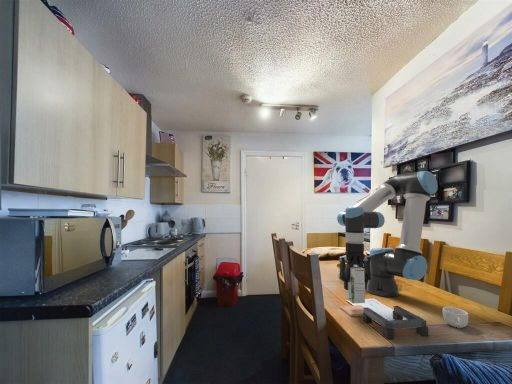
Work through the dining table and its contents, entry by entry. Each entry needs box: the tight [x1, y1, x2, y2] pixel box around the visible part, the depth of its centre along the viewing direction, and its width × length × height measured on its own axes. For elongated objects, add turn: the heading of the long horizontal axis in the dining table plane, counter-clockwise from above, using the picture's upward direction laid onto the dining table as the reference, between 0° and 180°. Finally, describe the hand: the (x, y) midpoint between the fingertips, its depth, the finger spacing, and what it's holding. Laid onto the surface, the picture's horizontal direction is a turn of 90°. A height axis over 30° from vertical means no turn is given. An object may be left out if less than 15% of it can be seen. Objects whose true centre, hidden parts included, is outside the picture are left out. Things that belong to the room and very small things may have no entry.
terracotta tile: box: [339, 304, 365, 317], centre depth 108 cm, size 10×9×1 cm
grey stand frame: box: [362, 305, 429, 340], centre depth 93 cm, size 16×14×5 cm
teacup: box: [442, 306, 469, 329], centre depth 95 cm, size 10×8×5 cm
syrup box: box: [345, 264, 366, 304], centre depth 109 cm, size 6×6×14 cm
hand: (355, 297), depth 108 cm, fingers closed on syrup box, 6 cm apart
